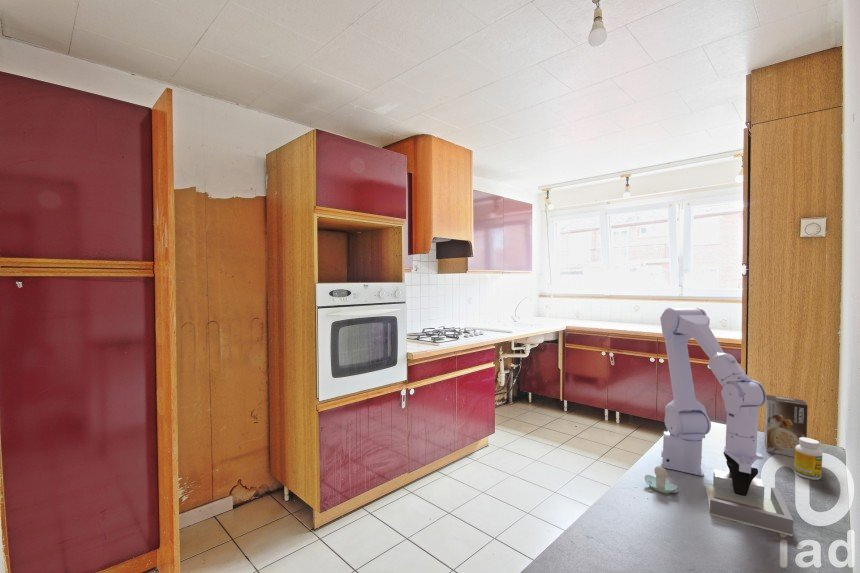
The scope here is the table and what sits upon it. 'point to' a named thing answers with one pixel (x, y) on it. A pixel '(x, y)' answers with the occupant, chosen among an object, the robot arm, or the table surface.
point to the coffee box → (784, 424)
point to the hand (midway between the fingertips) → (738, 489)
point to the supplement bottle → (808, 459)
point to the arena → (754, 512)
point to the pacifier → (660, 481)
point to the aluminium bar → (726, 491)
